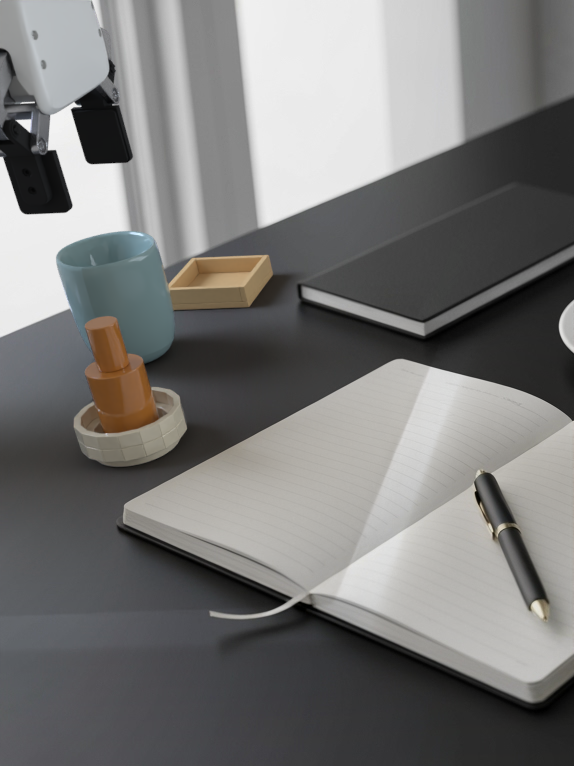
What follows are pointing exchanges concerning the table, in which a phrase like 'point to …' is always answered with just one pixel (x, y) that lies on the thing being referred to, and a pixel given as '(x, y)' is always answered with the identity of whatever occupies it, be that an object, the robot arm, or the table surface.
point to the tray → (220, 282)
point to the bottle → (117, 380)
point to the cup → (120, 289)
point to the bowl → (133, 434)
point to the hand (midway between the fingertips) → (80, 185)
